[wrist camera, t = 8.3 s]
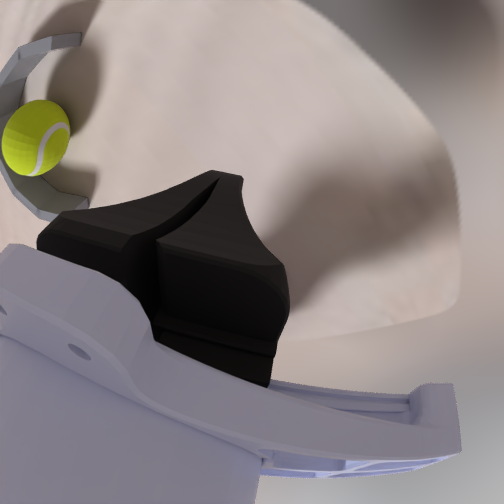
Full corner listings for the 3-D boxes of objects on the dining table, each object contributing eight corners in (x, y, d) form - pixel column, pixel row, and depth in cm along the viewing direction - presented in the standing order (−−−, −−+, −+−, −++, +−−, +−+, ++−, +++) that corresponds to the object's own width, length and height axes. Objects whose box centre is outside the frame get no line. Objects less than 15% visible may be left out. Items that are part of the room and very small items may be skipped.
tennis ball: (80, 165, 22) (33, 202, 17) (37, 145, 21) (-9, 176, 16) (90, 100, 18) (33, 125, 13) (42, 85, 17) (-12, 107, 12)
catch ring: (89, 207, 25) (69, 227, 22) (26, 193, 25) (7, 209, 23) (81, 32, 14) (52, 35, 11) (11, 53, 14) (-14, 61, 11)
